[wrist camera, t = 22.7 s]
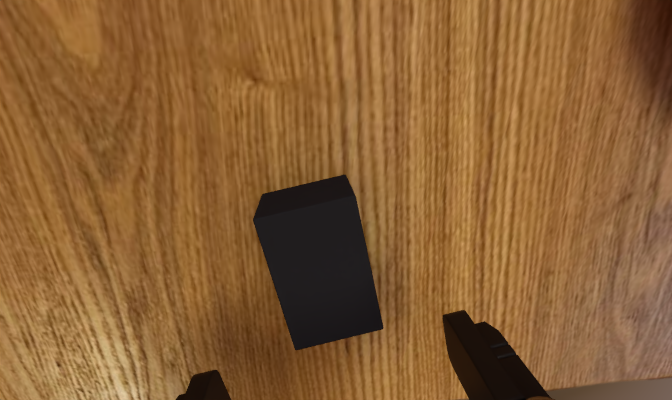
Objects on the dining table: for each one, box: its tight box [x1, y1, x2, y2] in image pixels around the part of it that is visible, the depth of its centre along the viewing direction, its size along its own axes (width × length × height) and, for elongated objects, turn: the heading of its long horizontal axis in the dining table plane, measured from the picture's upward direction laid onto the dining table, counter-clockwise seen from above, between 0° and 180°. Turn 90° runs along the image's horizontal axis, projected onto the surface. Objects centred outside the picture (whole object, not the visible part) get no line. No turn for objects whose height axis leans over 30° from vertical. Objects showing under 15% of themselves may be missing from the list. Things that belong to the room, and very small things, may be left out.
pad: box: [253, 175, 383, 350], centre depth 20 cm, size 5×8×4 cm, turn 12°
